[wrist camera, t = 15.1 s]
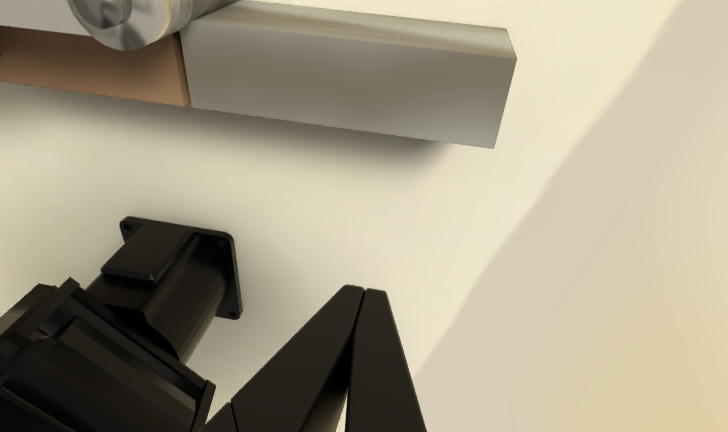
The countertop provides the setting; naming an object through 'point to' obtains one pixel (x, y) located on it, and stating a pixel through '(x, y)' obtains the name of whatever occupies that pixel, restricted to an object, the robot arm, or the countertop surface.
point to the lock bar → (101, 18)
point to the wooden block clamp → (293, 69)
